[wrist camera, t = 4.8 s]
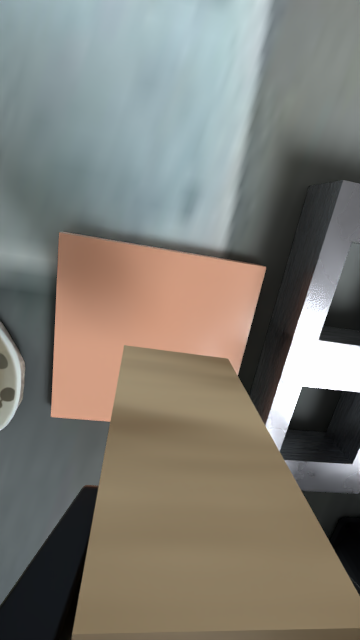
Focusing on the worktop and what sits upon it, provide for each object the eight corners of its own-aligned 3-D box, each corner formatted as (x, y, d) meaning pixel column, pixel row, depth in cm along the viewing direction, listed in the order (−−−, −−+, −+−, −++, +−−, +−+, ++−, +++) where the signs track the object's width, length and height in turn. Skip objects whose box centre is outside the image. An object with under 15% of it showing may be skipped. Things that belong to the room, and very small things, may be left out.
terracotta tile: (220, 422, 21) (223, 430, 20) (54, 409, 19) (50, 417, 18) (261, 264, 17) (266, 267, 16) (63, 231, 16) (58, 232, 15)
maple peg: (205, 441, 13) (288, 764, 5) (111, 433, 12) (52, 787, 5) (228, 358, 12) (377, 627, 4) (124, 345, 11) (71, 634, 3)
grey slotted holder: (332, 459, 23) (358, 493, 20) (233, 452, 22) (245, 488, 19) (435, 213, 17) (492, 213, 14) (309, 185, 16) (343, 179, 13)
